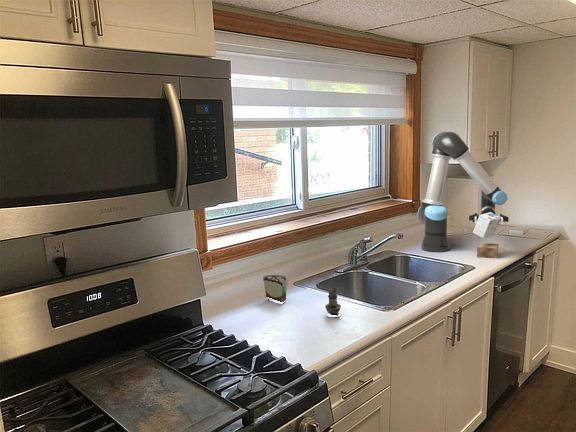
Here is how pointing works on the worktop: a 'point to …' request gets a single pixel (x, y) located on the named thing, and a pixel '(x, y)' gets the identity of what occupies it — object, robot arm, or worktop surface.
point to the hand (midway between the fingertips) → (488, 221)
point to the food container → (275, 287)
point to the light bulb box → (486, 224)
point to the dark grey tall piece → (333, 302)
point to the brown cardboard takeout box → (487, 250)
